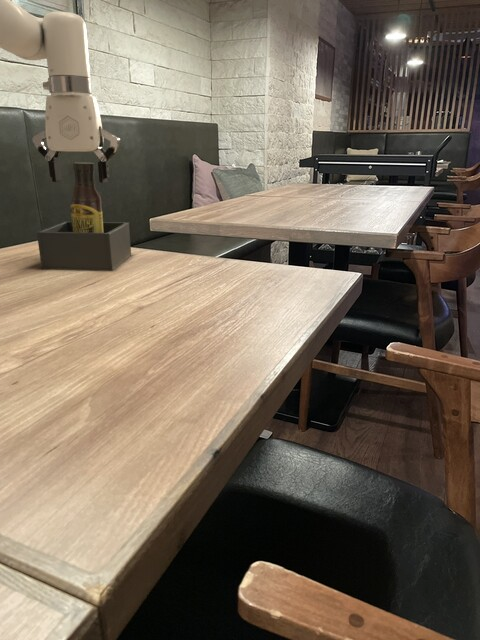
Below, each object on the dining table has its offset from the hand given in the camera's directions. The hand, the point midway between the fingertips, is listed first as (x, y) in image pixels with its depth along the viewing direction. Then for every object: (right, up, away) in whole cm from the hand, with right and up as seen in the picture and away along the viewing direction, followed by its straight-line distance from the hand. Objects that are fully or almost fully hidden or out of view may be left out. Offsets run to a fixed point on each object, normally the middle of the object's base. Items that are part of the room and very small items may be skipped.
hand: (80, 181), depth 99 cm
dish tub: (0, -16, +6) cm, 17 cm away
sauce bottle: (0, -15, +6) cm, 16 cm away
